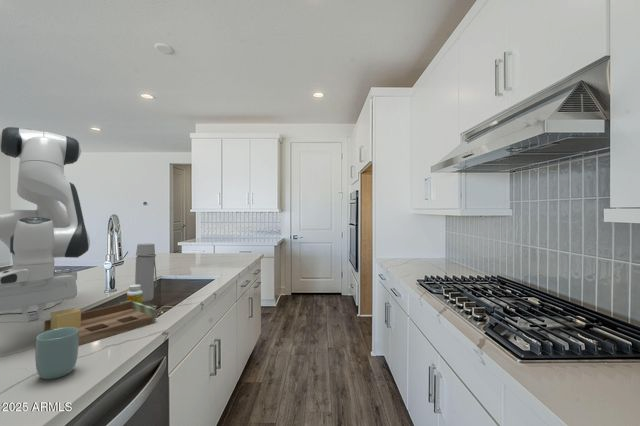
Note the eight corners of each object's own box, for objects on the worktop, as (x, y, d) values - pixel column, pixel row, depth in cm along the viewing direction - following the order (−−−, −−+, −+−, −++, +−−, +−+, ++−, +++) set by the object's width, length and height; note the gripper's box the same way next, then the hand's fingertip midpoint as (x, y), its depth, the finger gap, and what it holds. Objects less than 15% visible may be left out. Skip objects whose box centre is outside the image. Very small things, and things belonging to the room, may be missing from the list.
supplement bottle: (134, 312, 117) (135, 287, 117) (122, 311, 118) (123, 286, 118) (145, 308, 122) (145, 284, 122) (134, 307, 123) (134, 283, 123)
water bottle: (141, 303, 128) (143, 245, 128) (130, 300, 131) (132, 244, 131) (161, 298, 136) (162, 243, 136) (150, 296, 139) (152, 242, 140)
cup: (34, 374, 72) (35, 332, 72) (75, 363, 77) (76, 324, 77) (34, 388, 66) (36, 342, 66) (79, 375, 72) (80, 333, 72)
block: (50, 328, 93) (50, 312, 93) (74, 323, 98) (74, 307, 98) (56, 332, 90) (57, 315, 90) (80, 326, 95) (81, 310, 95)
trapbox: (44, 336, 93) (44, 319, 93) (132, 314, 115) (133, 299, 115) (64, 349, 84) (64, 330, 84) (155, 322, 106) (155, 307, 107)
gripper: (73, 267, 98) (72, 309, 97) (-21, 277, 80) (-22, 329, 80) (81, 268, 94) (80, 312, 94) (-14, 280, 77) (-16, 334, 77)
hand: (32, 320), depth 87 cm, fingers closed
